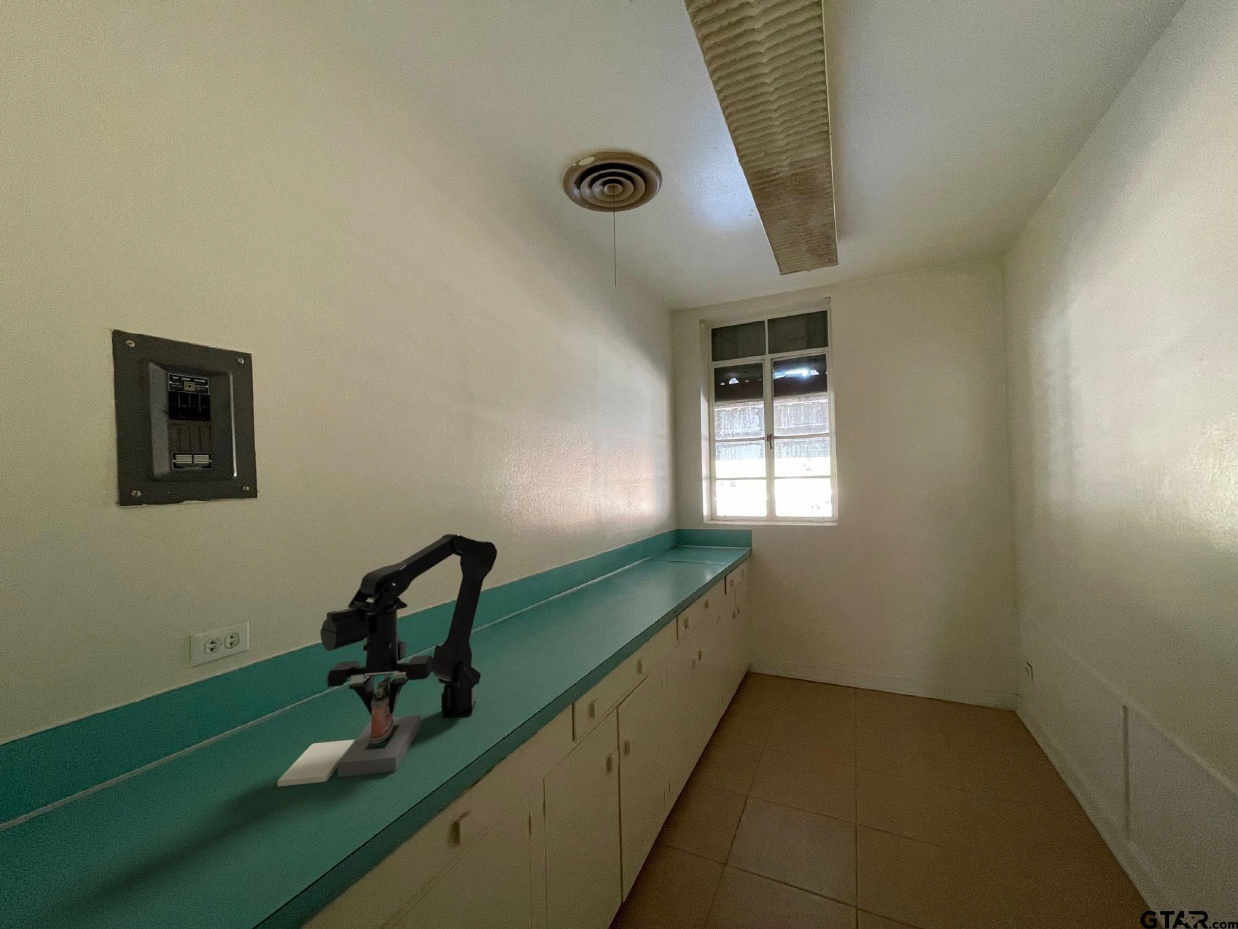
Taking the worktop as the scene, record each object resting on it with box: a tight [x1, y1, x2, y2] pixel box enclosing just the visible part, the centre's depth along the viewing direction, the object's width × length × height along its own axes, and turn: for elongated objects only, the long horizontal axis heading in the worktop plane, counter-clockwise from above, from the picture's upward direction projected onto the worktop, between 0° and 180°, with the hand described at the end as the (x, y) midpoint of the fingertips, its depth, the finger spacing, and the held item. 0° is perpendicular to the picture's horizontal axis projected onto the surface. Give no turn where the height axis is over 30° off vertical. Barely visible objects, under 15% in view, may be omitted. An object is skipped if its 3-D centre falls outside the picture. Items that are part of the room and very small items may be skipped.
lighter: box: [370, 675, 394, 743], centre depth 95 cm, size 8×3×10 cm, turn 10°
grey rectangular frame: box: [337, 714, 422, 778], centre depth 94 cm, size 10×16×2 cm, turn 8°
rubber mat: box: [277, 739, 356, 787], centre depth 90 cm, size 8×12×1 cm, turn 8°
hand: (382, 713), depth 95 cm, fingers closed on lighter, 3 cm apart
